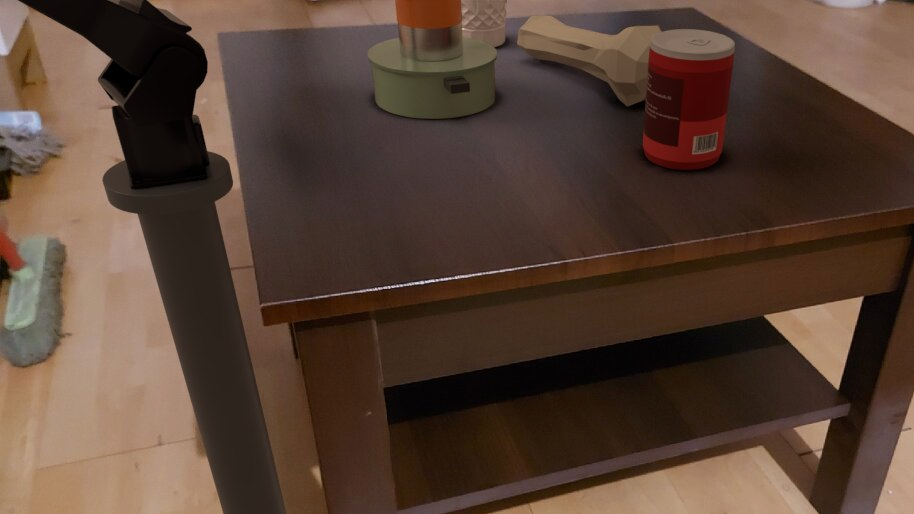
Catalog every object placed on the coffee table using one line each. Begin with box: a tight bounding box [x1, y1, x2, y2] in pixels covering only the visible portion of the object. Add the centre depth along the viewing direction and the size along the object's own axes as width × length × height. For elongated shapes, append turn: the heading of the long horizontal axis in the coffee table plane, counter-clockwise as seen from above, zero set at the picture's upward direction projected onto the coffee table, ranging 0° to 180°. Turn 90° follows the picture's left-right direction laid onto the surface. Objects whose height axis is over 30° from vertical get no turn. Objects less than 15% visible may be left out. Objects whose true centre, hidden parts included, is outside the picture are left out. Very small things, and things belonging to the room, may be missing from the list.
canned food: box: [642, 28, 736, 171], centre depth 82 cm, size 8×8×11 cm
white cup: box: [461, 0, 508, 48], centre depth 111 cm, size 8×8×10 cm
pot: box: [366, 37, 498, 120], centre depth 94 cm, size 14×17×5 cm
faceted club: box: [516, 15, 663, 108], centre depth 101 cm, size 9×8×25 cm
